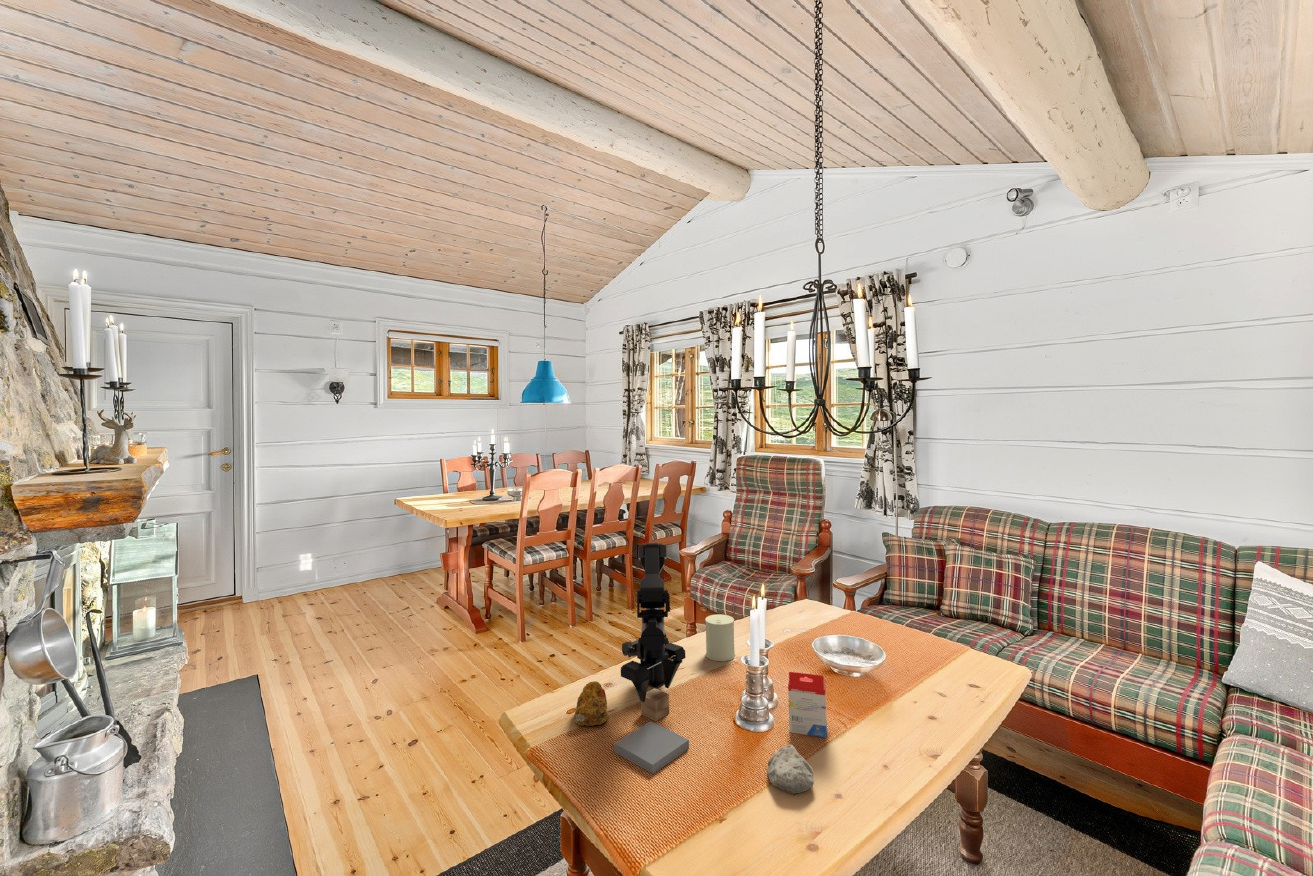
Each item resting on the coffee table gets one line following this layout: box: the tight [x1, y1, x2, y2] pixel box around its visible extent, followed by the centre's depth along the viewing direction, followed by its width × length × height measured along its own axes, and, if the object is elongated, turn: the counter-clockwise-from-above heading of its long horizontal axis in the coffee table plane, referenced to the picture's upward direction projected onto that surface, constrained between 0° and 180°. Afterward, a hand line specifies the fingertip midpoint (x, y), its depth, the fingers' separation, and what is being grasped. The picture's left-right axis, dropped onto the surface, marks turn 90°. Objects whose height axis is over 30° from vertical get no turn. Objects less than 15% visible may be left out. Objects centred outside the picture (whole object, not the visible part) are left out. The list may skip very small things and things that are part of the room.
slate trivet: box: [613, 720, 690, 775], centre depth 124 cm, size 12×12×2 cm
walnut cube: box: [640, 687, 670, 722], centre depth 140 cm, size 5×5×5 cm
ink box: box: [787, 671, 828, 739], centre depth 131 cm, size 8×5×15 cm, turn 71°
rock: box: [573, 680, 609, 727], centre depth 140 cm, size 11×8×10 cm
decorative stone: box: [766, 744, 815, 794], centre depth 114 cm, size 12×11×5 cm
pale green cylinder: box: [705, 614, 736, 662], centre depth 174 cm, size 9×9×12 cm
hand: (654, 694), depth 140 cm, fingers open, 9 cm apart
